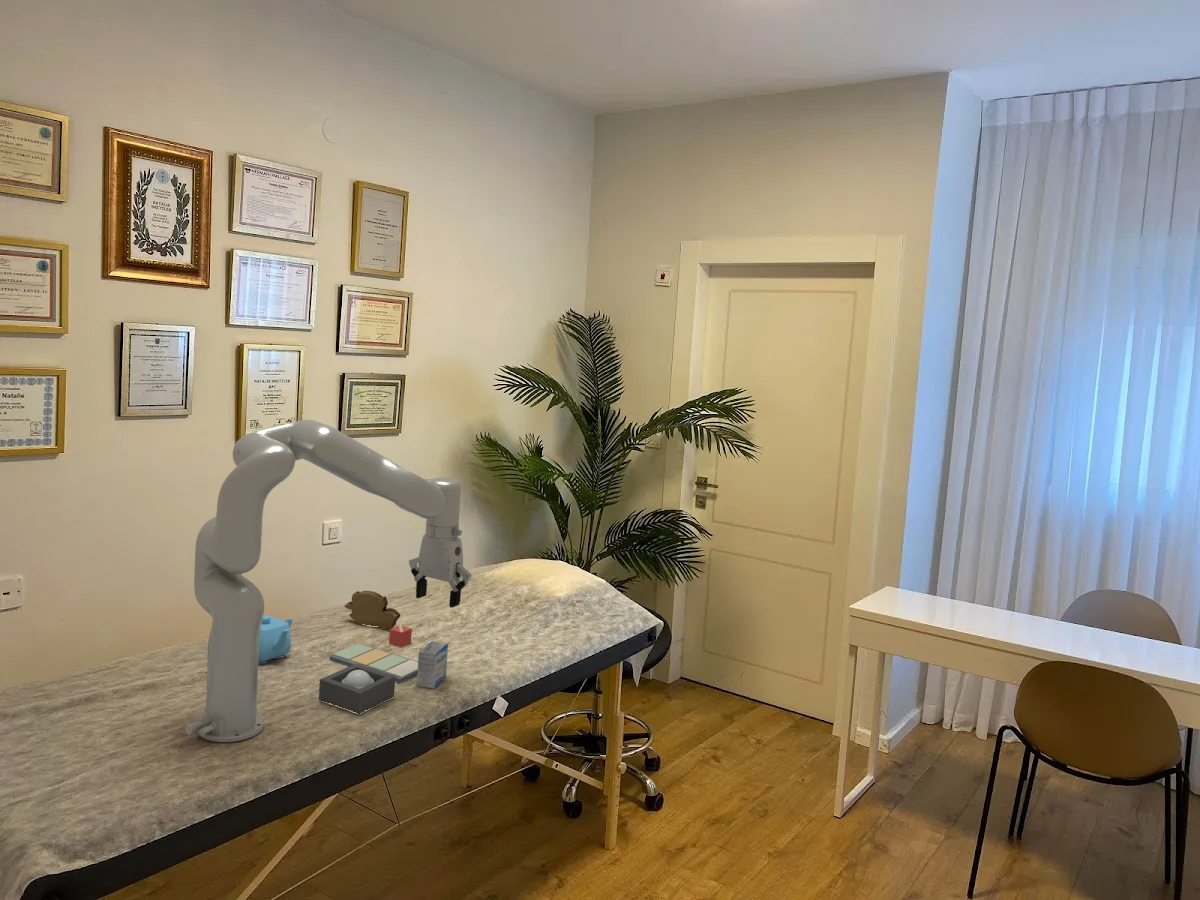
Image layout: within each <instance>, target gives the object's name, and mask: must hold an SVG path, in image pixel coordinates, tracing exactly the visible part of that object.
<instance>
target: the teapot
mask: <svg viewBox="0 0 1200 900" xmlns="http://www.w3.org/2000/svg"><path fill="white" fill-rule="evenodd" d="M293 620H294V619H292V618H285V620H281V618H280V619H279V618H277V617H274V616H271V615H263V619H262V623H261V629H260V637H259V658H258V664H259V663H260V664H259V665H264V664H266V663H267V662H266V661H267V660H268V661H269V660H273V659H277V658H276V657H281V656H285V655H287V654H289V653H290V652H291V646H292V645H291V642H292V640H291V638H292V637H291V625H292V624H293ZM265 662H266V663H265ZM262 663H263V664H262Z"/></svg>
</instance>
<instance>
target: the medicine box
mask: <svg viewBox="0 0 1200 900" xmlns="http://www.w3.org/2000/svg"><path fill="white" fill-rule="evenodd" d="M448 650H449V643H446V642H442V641H435V640H434V641H433V640H432V641H431V642H429V643H428V644H427V645H426V646H425V647H423V648H422V649H420V651H419V652H418V675H416V676H417V677H416V679H417V681H416V685H417V686H418V687H421V688H427V689H432V690H433V689H436V687H437V686H438V685H439V684H441V682H442V681H443V680H444V679H445V678H446V677H447V667H448V653H449V651H448Z"/></svg>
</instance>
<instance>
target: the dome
mask: <svg viewBox="0 0 1200 900" xmlns="http://www.w3.org/2000/svg"><path fill="white" fill-rule="evenodd" d="M373 682H374V680H373V679H372V678H371V677H370V676H369V674H368V673H367V672H365V671H363V670H354V671H352V672H350V673H349V674H348V675H347V676H346V678H344V679H343V680H342V683H344V684H347V685H350V686H353V687H356V688H358V689H361V688H363V687H365V686H367V685H369V684H371V683H373Z"/></svg>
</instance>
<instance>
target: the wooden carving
mask: <svg viewBox="0 0 1200 900" xmlns="http://www.w3.org/2000/svg"><path fill="white" fill-rule="evenodd" d="M388 605H389V603H388V598H387V597H386V596H382V595H381V594H380V593H378V592H375V591H372V590H362V591H356V592H353V594H352V595H351V601H349V602H347V603H346V604H344V608H345V609H347V610H351V613H349V615H348V616H349V617H350V618H351V619H352V620H353V621H355V622H356V623H358V624H359V625H361V624H365V625H371V626H378V627H377V628H379V627H383V628H385V629H389V630H390V629H392V628H394V627H396V626H397V621H398V620H399V619H400V618H401V613H399V611H398V610H397V609H395V608H391V607H390V608H389V607H387V606H388Z"/></svg>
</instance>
